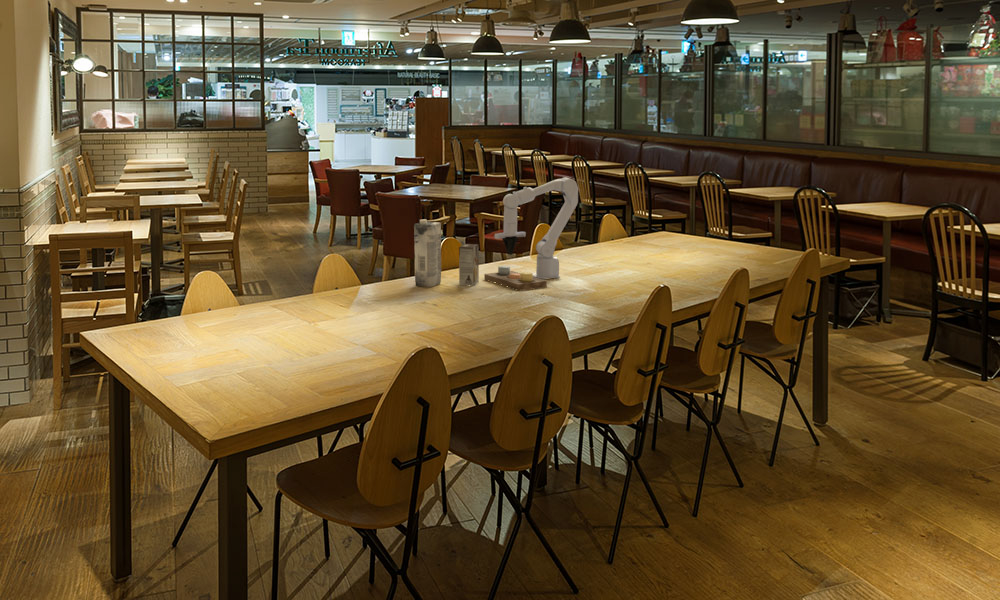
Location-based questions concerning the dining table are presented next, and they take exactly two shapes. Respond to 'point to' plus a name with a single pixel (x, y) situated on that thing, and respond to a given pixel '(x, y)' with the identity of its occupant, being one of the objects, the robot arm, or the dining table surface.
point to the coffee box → (469, 264)
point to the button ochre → (526, 277)
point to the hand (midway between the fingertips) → (509, 254)
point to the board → (515, 281)
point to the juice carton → (427, 253)
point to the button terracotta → (514, 276)
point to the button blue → (503, 270)
